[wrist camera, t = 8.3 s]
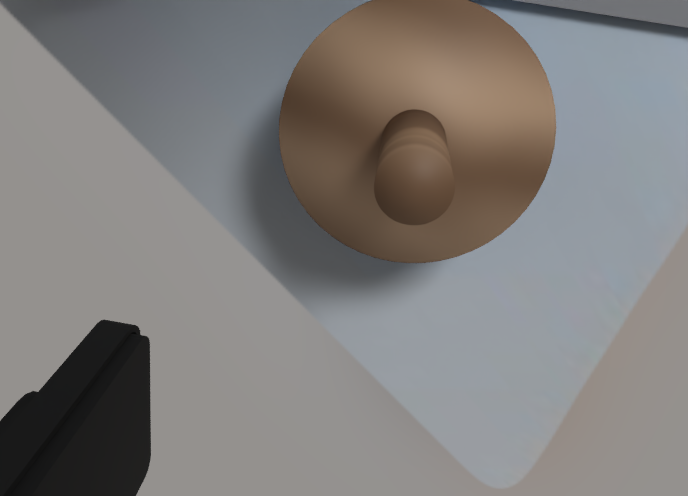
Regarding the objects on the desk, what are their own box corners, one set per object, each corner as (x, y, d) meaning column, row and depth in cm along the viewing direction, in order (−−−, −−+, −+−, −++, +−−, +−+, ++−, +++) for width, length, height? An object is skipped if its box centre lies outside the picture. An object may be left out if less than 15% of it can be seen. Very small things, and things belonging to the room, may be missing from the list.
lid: (296, -30, 25) (256, -25, 18) (587, 14, 24) (648, 34, 18) (273, 232, 30) (236, 304, 24) (511, 272, 30) (537, 356, 23)
